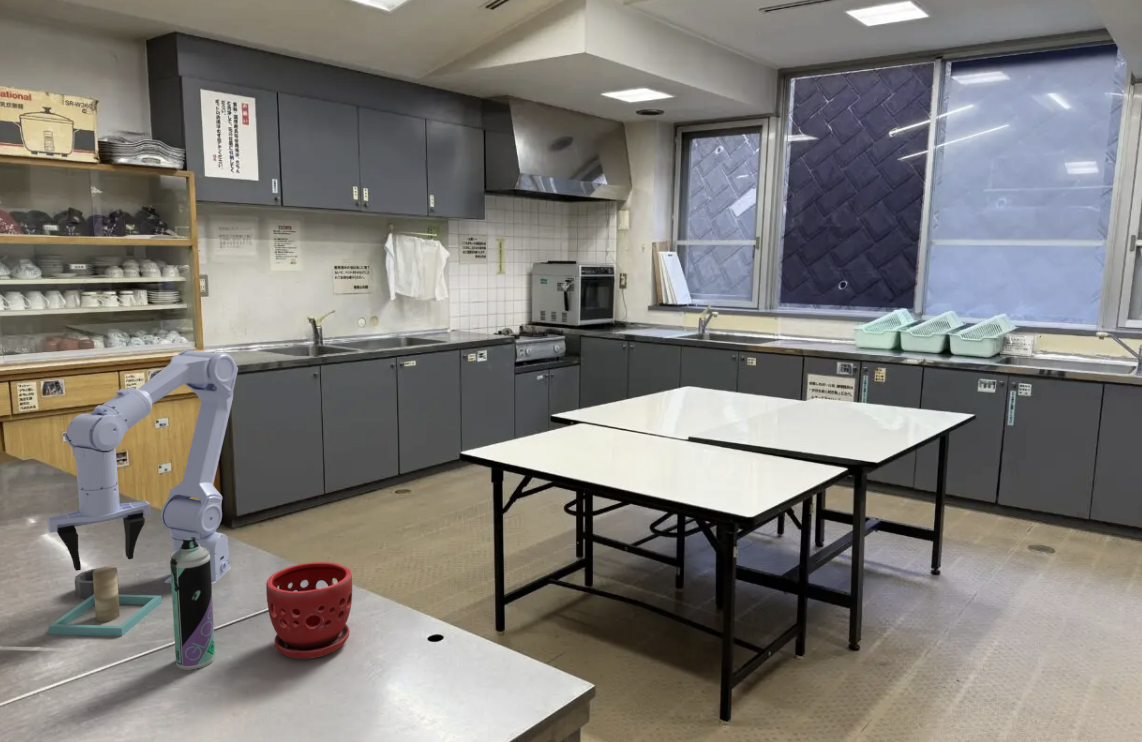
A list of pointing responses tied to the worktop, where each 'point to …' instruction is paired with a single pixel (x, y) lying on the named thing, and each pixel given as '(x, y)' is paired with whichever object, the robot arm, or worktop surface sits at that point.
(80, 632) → the teal tray
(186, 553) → the spray can
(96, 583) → the birch dowel
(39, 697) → the worktop surface
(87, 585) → the dark gray cup
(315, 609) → the plant pot
